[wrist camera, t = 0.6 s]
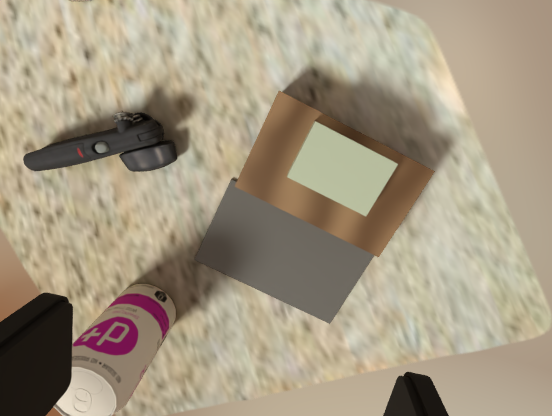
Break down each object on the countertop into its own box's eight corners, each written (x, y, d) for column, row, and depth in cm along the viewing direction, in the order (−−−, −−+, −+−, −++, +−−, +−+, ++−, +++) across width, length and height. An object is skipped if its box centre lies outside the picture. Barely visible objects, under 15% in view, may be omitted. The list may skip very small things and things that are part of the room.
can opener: (171, 104, 38) (150, 104, 33) (184, 164, 40) (167, 172, 35) (32, 128, 40) (-9, 131, 35) (52, 183, 42) (15, 194, 37)
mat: (195, 258, 44) (194, 259, 43) (231, 178, 40) (231, 179, 40) (329, 322, 45) (329, 323, 45) (376, 250, 41) (376, 251, 41)
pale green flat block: (287, 172, 35) (286, 177, 33) (314, 120, 34) (315, 121, 31) (361, 209, 36) (366, 216, 34) (391, 160, 34) (398, 164, 32)
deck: (240, 179, 40) (234, 186, 36) (281, 92, 37) (279, 90, 33) (371, 243, 41) (378, 257, 37) (421, 165, 38) (434, 171, 34)
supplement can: (124, 274, 45) (42, 351, 31) (183, 291, 45) (128, 376, 31) (116, 322, 47) (37, 415, 33) (172, 338, 48) (117, 437, 33)
